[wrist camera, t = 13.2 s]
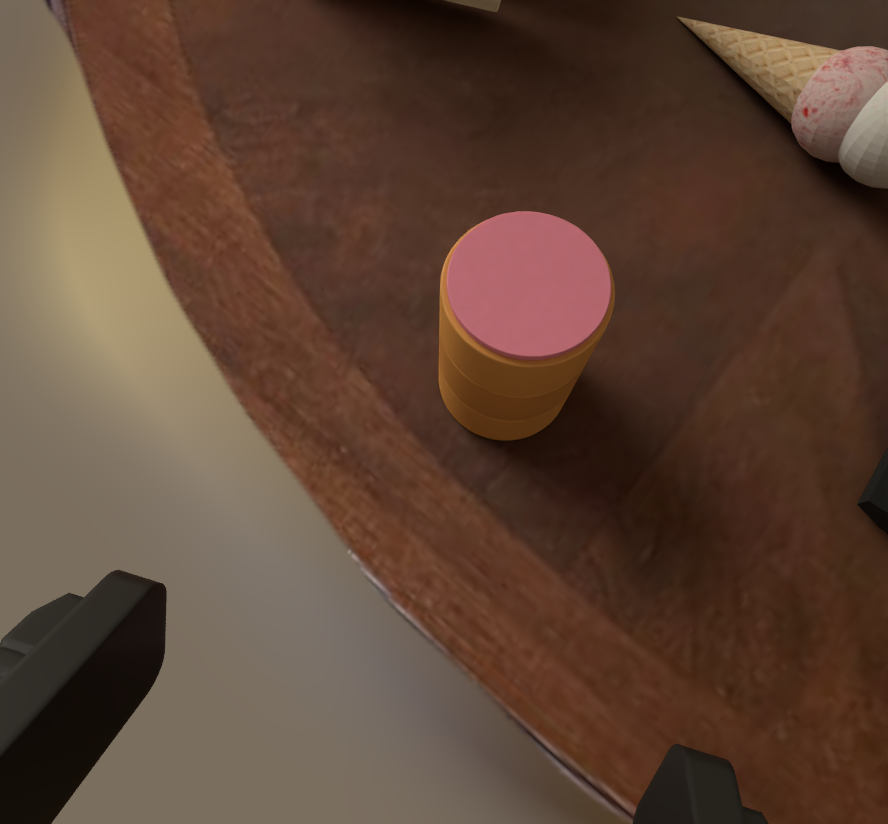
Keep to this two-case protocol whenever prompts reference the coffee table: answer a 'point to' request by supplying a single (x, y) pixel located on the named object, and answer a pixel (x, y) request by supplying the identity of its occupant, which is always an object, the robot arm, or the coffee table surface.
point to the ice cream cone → (816, 94)
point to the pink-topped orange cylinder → (519, 321)
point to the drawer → (480, 4)
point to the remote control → (877, 495)
